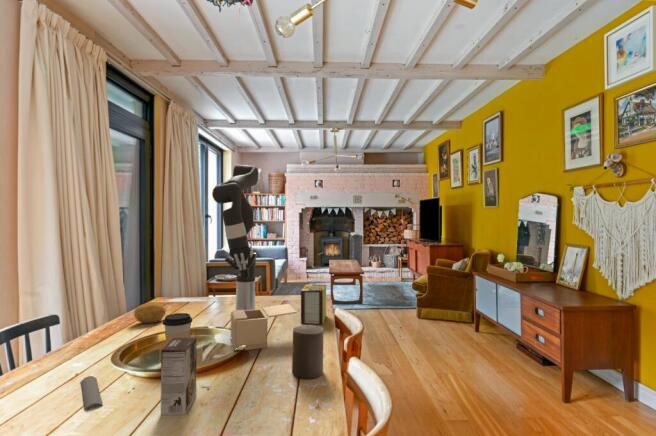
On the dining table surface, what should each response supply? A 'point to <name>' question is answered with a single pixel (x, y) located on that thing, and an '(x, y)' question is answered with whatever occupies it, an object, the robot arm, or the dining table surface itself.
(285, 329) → the dining table surface
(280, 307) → the flap
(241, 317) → the carton
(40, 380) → the dining table surface
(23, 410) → the dining table surface
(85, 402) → the gray half cylinder
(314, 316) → the protein box
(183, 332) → the coffee cup
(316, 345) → the pillar candle
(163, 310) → the potato
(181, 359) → the coffee box
